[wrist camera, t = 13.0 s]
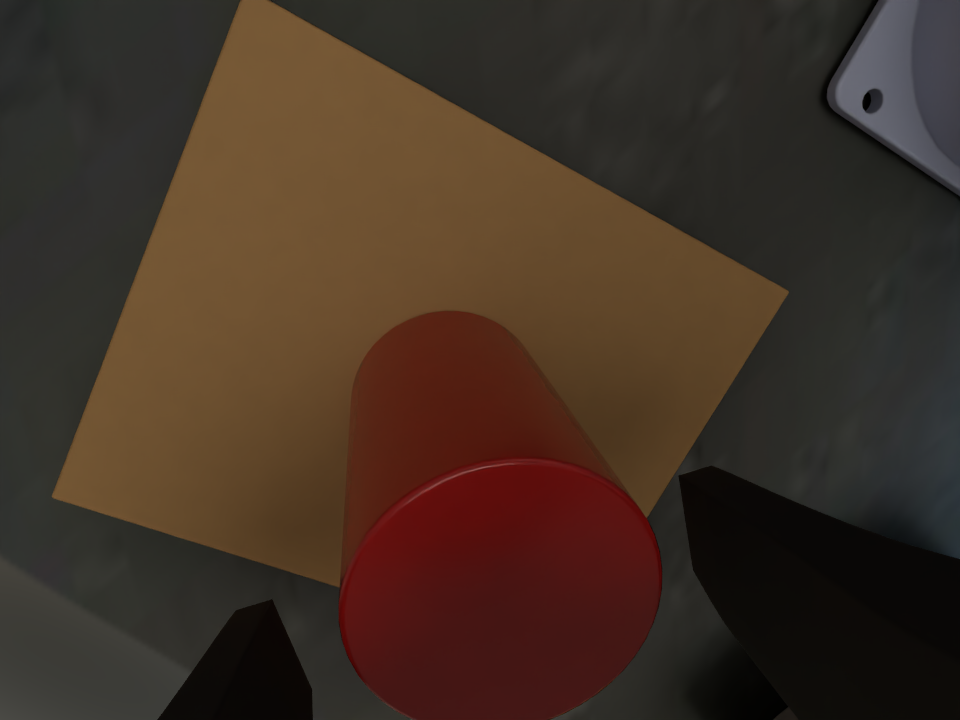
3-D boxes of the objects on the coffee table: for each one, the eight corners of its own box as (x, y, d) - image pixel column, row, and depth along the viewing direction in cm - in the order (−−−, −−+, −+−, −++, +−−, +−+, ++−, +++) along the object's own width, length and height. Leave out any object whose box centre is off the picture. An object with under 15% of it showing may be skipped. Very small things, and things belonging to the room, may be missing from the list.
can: (528, 294, 16) (657, 427, 9) (548, 465, 17) (670, 694, 10) (332, 328, 15) (303, 499, 8) (371, 501, 17) (374, 768, 10)
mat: (781, 288, 17) (790, 291, 17) (556, 647, 20) (560, 657, 19) (248, -10, 13) (245, -14, 13) (57, 489, 16) (50, 498, 16)
